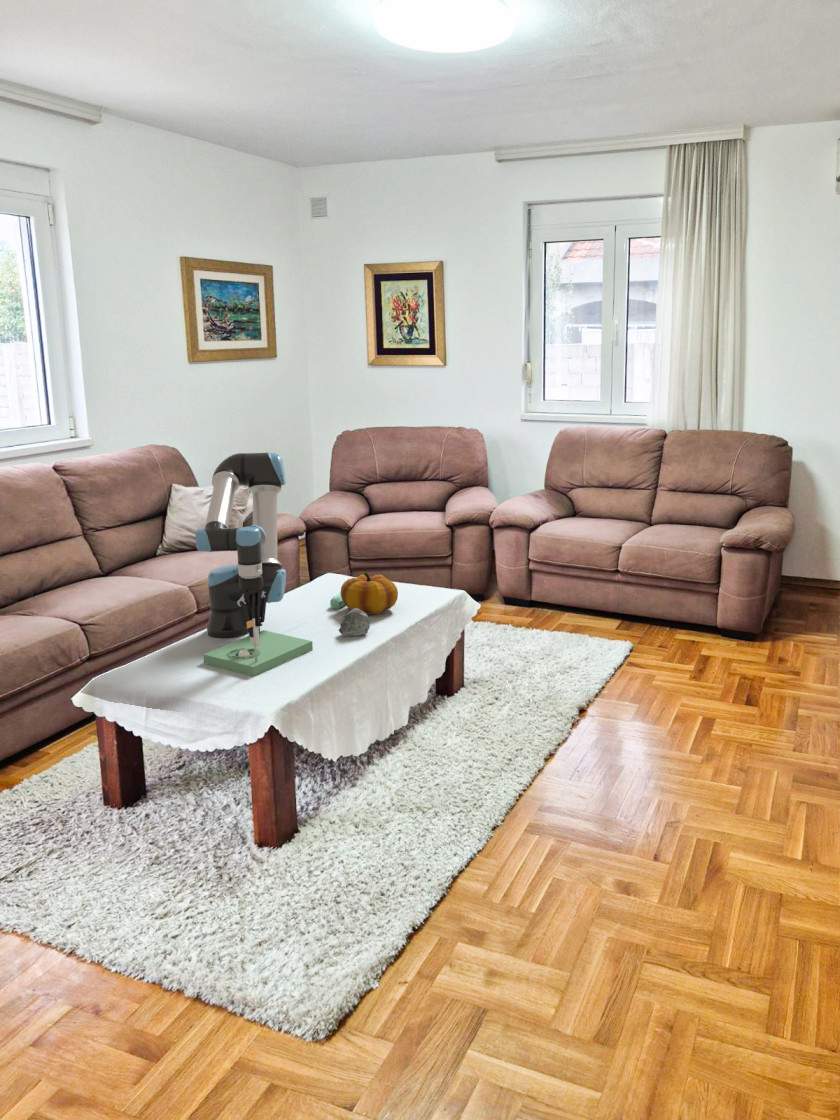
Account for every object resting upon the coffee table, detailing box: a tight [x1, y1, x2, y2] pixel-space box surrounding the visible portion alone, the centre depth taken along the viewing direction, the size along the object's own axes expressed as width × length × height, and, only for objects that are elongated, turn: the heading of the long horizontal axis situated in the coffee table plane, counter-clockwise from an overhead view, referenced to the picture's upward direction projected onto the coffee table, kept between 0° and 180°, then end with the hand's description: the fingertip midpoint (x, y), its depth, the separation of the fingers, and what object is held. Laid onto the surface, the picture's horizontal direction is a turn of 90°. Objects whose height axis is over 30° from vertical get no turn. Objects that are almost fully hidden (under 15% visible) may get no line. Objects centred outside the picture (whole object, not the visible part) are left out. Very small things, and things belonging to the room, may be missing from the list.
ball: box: [238, 650, 250, 657], centre depth 295 cm, size 4×4×4 cm
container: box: [329, 592, 346, 610], centre depth 359 cm, size 6×6×25 cm
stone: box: [338, 608, 370, 637], centre depth 320 cm, size 10×10×10 cm
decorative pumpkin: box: [339, 571, 399, 615], centre depth 345 cm, size 20×22×15 cm
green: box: [202, 619, 314, 677], centre depth 298 cm, size 28×22×17 cm
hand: (255, 645), depth 298 cm, fingers closed
